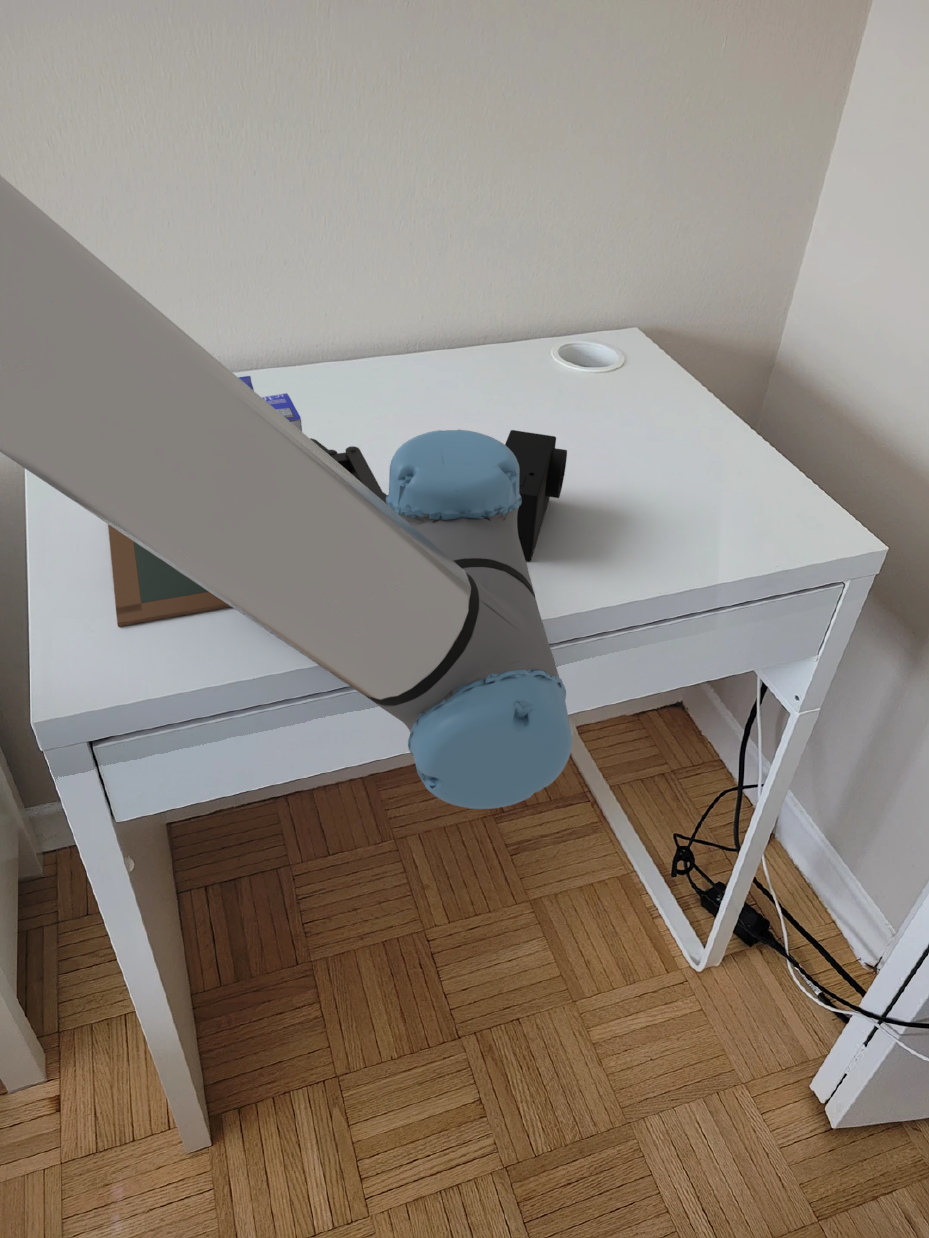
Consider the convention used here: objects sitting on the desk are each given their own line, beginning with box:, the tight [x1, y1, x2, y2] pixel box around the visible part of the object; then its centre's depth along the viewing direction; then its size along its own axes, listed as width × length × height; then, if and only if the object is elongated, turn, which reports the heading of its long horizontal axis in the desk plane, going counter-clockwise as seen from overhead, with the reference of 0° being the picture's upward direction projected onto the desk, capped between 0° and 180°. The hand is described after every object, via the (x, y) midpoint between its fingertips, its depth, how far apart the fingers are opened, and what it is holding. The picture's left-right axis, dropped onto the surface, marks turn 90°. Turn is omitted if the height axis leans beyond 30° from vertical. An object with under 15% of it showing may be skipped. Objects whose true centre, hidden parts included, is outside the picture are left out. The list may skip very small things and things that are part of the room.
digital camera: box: [504, 429, 568, 562], centre depth 85 cm, size 10×5×7 cm, turn 167°
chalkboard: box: [107, 524, 232, 628], centre depth 83 cm, size 22×16×1 cm
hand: (220, 452), depth 81 cm, fingers closed on ink cartridge box, 11 cm apart
